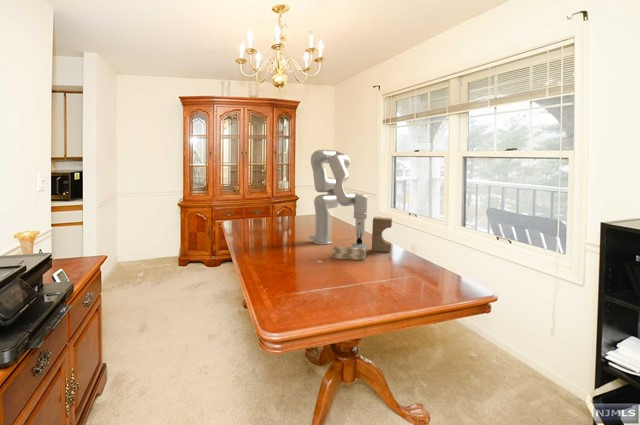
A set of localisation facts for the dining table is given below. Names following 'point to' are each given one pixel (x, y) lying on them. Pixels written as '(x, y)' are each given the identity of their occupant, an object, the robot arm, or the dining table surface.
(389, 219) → the decorative block
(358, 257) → the board
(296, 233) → the dining table surface
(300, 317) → the dining table surface
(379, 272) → the dining table surface
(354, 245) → the block
